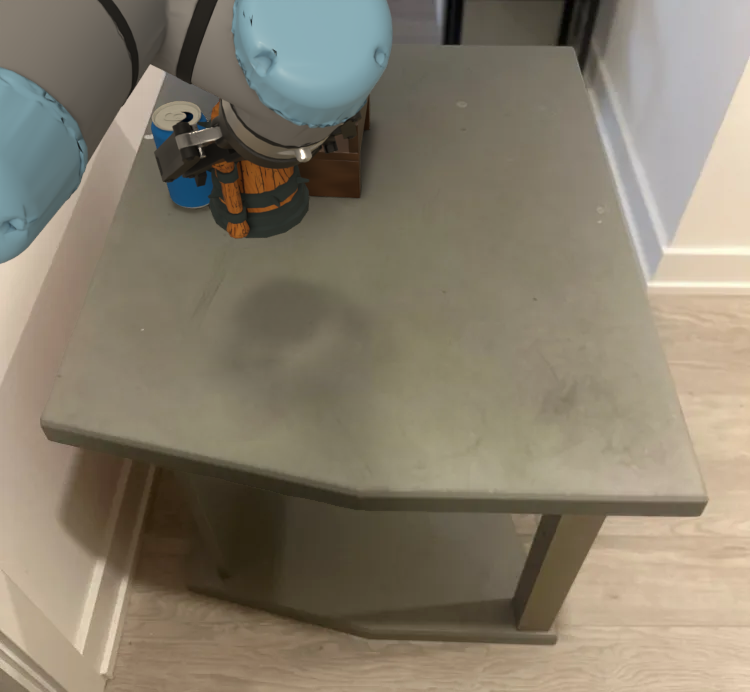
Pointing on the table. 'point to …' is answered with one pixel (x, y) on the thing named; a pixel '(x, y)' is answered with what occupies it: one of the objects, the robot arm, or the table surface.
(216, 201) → the mug
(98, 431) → the table surface
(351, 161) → the brown wooden box
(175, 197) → the beverage can
